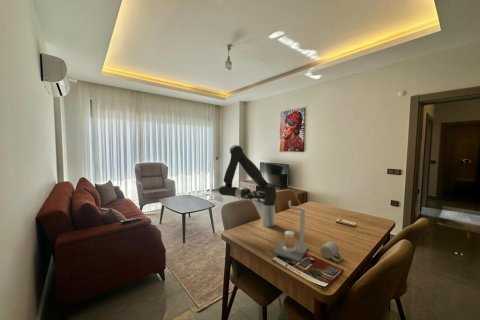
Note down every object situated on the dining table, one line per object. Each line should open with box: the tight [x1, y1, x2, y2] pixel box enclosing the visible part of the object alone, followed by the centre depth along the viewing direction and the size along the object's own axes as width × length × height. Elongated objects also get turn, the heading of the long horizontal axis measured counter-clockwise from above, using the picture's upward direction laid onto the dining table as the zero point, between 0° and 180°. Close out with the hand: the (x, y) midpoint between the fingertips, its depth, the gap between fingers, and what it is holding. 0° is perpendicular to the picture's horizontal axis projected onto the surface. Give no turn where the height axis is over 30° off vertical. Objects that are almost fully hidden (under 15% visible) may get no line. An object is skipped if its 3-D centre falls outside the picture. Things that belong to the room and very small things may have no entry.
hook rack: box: [272, 200, 309, 263], centre depth 122 cm, size 18×16×31 cm
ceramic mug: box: [320, 241, 343, 263], centre depth 116 cm, size 11×8×8 cm
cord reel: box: [284, 230, 296, 251], centre depth 123 cm, size 6×6×10 cm
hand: (263, 196), depth 137 cm, fingers open, 8 cm apart
